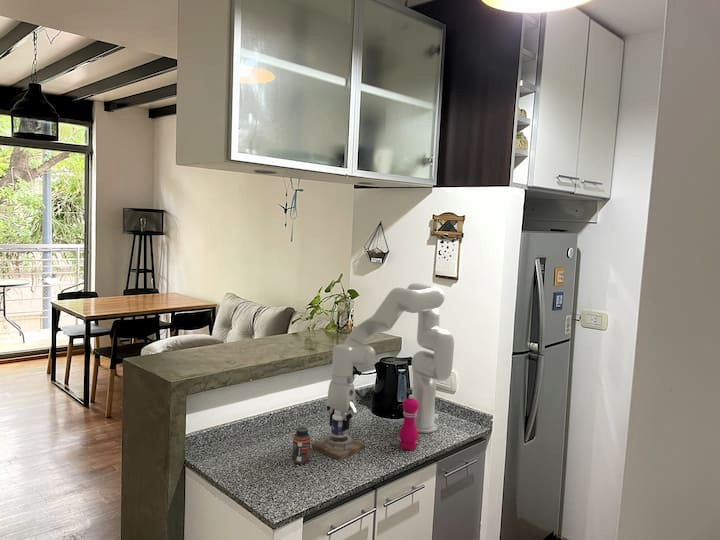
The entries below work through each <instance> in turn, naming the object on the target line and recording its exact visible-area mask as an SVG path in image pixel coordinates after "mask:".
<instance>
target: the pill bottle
mask: <svg viewBox="0 0 720 540" xmlns="http://www.w3.org/2000/svg"><path fill="white" fill-rule="evenodd" d="M334 413H335V414H333V416H332V426H331V433H330V434H332V436H334V437H338V438H340V437H344V436H346V434H347V430H345V431H342V421H343V420H344V417H343V412H341V411H339V410H336V409H335V410H334Z"/></svg>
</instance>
